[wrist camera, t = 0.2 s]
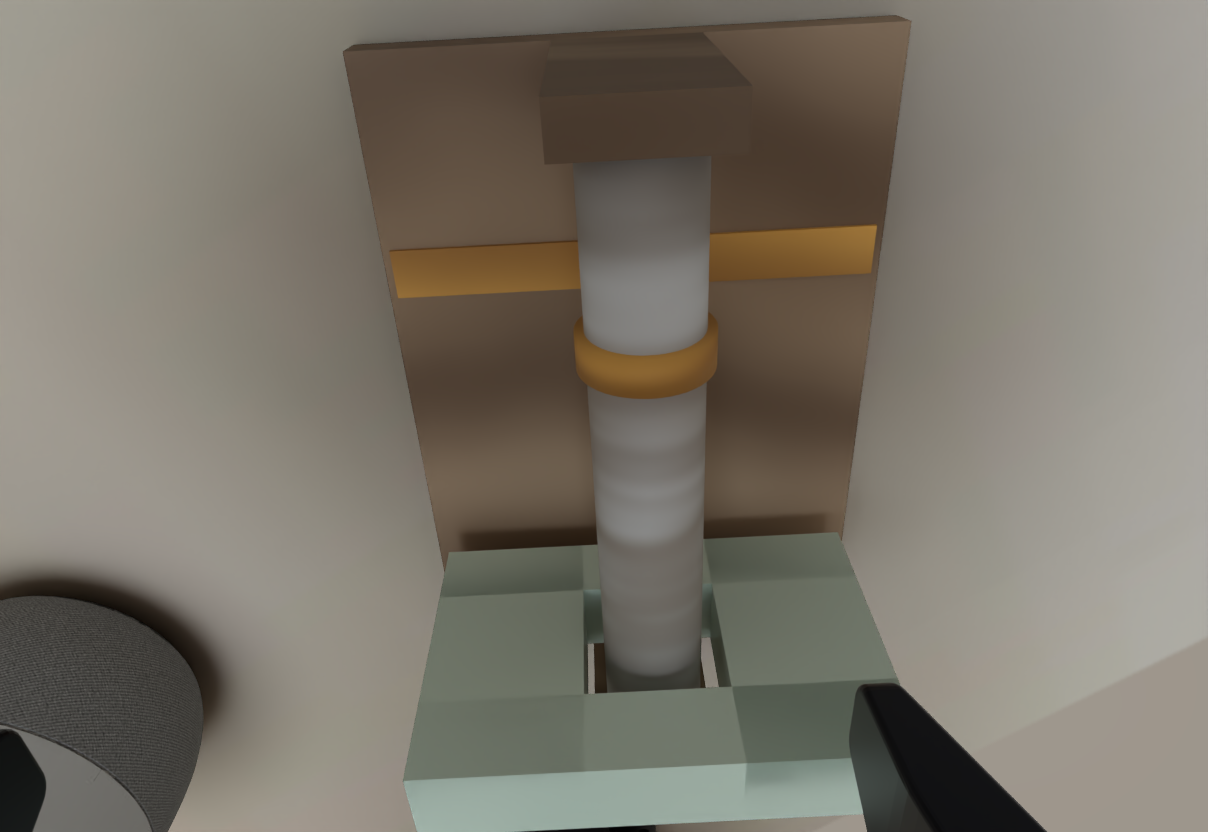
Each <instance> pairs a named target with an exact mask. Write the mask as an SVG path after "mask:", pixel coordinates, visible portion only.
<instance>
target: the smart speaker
mask: <svg viewBox="0 0 1208 832" xmlns="http://www.w3.org/2000/svg"><path fill="white" fill-rule="evenodd" d="M0 729H12V730H14V731H16V732H18V733H19V735H20V736H21V737H22V739H23V740H24V742H25V743H26V745H27V747H28V748H29V750H30V751H31V753H32V755H33V756H34V758H35V759H36V761H37V763H38V764H39V766H40V767H41V769H42V771H43V772H44V775H45V778H46V794H45V799H44V802H43V805H42V808H41V810H40V813H39V816H38V819H37V822H36V824H35V827H34V830H33V832H168V830H169V828H170V826H171V824H172V822H173V820H174V818H175V816H176V814H177V812H178V809H179V807H180V805H181V803H182V801H183V799H184V796H185V794H186V791H187V789H188V786H189V784H190V781H191V779H192V776H193V773H194V769H195V766H196V762H197V758H198V754H199V750H200V745H201V739H202V731H203V705H202V698H201V693H200V689H199V685H198V682H197V680H196V678H195V675H194V673H193V672H192V670H191V668H190V666H189V665H188V663H187V662H186V661H185V659H184V658H183V657H182V656H181V654H180V653H179V652H178V651H177V650H176V649H175V648H174V647H173V646H172V645H171V644H170V643H169V642H168V641H167V640H166V639H165V638H163V637H162V636H161V635H160V634H158V633H157V632H156V631H154V630H153V629H151V628H150V627H148V626H147V625H145V624H144V623H142V622H140V621H138V620H137V619H135V618H133V617H131V616H129V615H126V614H124V613H122V612H119V611H117V610H115V609H112V608H109V607H106V606H103V605H100V604H96V603H93V602H89V601H84V600H79V599H73V598H66V597H56V596H25V597H16V598H9V599H4V600H0Z"/></svg>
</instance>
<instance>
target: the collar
mask: <svg viewBox="0 0 1208 832" xmlns="http://www.w3.org/2000/svg"><path fill="white" fill-rule="evenodd" d="M705 637H710V638H711V644H712V650H713V655H714V661H715V667H716V672H717V678H718V684H719V687H715V688H696V689H676V690H657V691H637V692H618V693H598V694H588V643H604V633H603V618H602V603H601V588H600V572H599V557H598V545H580V546H561V547H542V548H522V549H503V550H484V551H465V552H449V555H448V560H447V564H446V569H445V574H444V579H443V584H442V589H441V594H440V599H439V604H438V609H437V614H436V619H435V624H434V629H433V634H432V639H431V644H430V649H429V654H428V659H427V664H426V669H425V674H424V679H423V683H422V688H421V693H420V698H419V703H418V708H417V713H416V718H415V723H414V728H413V733H412V738H411V743H410V748H409V753H408V758H407V763H406V768H405V773H404V778H403V783H404V787H405V790H406V794H407V797H408V801H409V805H410V808H411V812H412V815H413V819H414V822H415V826H416V830H417V832H521V831H540V830H560V829H580V828H600V827H619V826H639V825H659V824H679V823H698V822H718V821H738V820H758V819H777V818H797V817H817V816H837V815H856V814H863V810H862V805H861V801H860V796H859V792H858V787H857V782H856V778H855V773H854V769H853V764H852V760H851V755H850V747H849V732H850V726H851V719H852V713H853V707H854V700H855V694H856V691H857V689H858V687H859V686H860V685H862V684H870V683H889V682H890V683H895V684H898V685H900V683H899V681H898V678H897V676H896V673H895V671H894V669H893V666H892V664H891V661H890V659H889V656H888V654H887V651H886V649H885V647H884V644H883V642H882V639H881V637H880V634H879V632H878V629H877V627H876V625H875V622H874V620H873V617H872V615H871V612H870V610H869V607H868V605H867V603H866V600H865V598H864V595H863V593H862V590H861V588H860V585H859V583H858V581H857V578H856V576H855V573H854V571H853V568H852V566H851V563H850V561H849V559H848V556H847V554H846V551H845V549H844V546H843V544H842V541H841V539H840V537H839V534H838V532H831V533H812V534H792V535H773V536H754V537H735V538H715V539H703V578H702V625H701V638H705Z"/></svg>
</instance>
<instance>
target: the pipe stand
mask: <svg viewBox="0 0 1208 832" xmlns="http://www.w3.org/2000/svg"><path fill="white" fill-rule="evenodd" d="M910 28H911V21H910V20H907V19H904V18H902V17H899V16H877V17H859V18H840V19H822V20H804V21H785V22H767V23H748V24H730V25H711V26H693V27H674V28H656V29H637V30H619V31H600V32H582V33H563V34H545V35H526V36H508V37H489V38H471V39H452V40H434V41H415V42H397V43H378V44H360V45H353V46H351V47H349V48H348V49H346V50H345V51H343V56H344V61H345V66H346V71H347V76H348V81H349V86H350V91H351V96H352V102H353V107H354V112H355V117H356V122H357V127H358V132H359V137H360V142H361V148H362V153H363V158H364V163H365V168H366V173H367V178H368V183H369V188H370V193H371V199H372V204H373V209H374V214H375V219H376V224H377V229H378V234H379V239H380V245H381V250H382V255H383V260H384V265H385V270H386V275H387V280H388V285H389V291H390V296H391V301H392V306H393V311H394V316H395V321H396V326H397V331H398V336H399V342H400V347H401V352H402V357H403V362H404V367H405V372H406V377H407V382H408V388H409V393H410V398H411V403H412V408H413V413H414V418H415V423H416V428H417V433H418V439H419V444H420V449H421V454H422V459H423V464H424V469H425V474H426V479H427V485H428V490H429V495H430V500H431V505H432V510H433V515H434V520H435V525H436V531H437V536H438V541H439V546H440V551H441V556H442V561H443V566H444V571H445V569H446V564H447V560H448V555H449V552H465V551H484V550H503V549H522V548H542V547H561V546H580V545H598V557H599V572H600V588H601V603H602V618H603V633H604V643H594V666H595V694H598V693H618V692H637V691H657V690H676V689H696V688H706V687H705V681H704V675H703V668H702V662H701V625H702V578H703V539H715V538H735V537H754V536H773V535H792V534H812V533H831V532H838V534H839V537H840V539H841V541H842V534H843V526H844V519H845V512H846V504H847V497H848V489H849V482H850V474H851V467H852V459H853V452H854V445H855V437H856V430H857V422H858V415H859V407H860V400H861V392H862V385H863V378H864V370H865V363H866V355H867V348H868V340H869V333H870V325H871V318H872V311H873V303H874V296H875V288H876V281H877V273H878V266H879V258H880V251H881V244H882V236H883V229H884V221H885V214H886V206H887V199H888V191H889V184H890V177H891V169H892V162H893V154H894V147H895V139H896V132H897V124H898V117H899V110H900V102H901V95H902V87H903V80H904V72H905V65H906V57H907V50H908V43H909V35H910ZM705 638H707V637H705ZM588 644H591V643H588Z"/></svg>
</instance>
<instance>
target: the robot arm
mask: <svg viewBox="0 0 1208 832" xmlns="http://www.w3.org/2000/svg"><path fill="white" fill-rule="evenodd" d="M849 747H850V755H851V760H852V764H853V769H854V773H855V778H856V782H857V787H858V792H859V796H860V801H861V805H862V810H863V814H864V819H865V823H866V827H867V832H1047V831H1046V830H1045V829H1043V827H1042V826H1041V825H1040V824H1039V823H1038V822H1037V821H1036V820H1035V819H1034V818H1033V817H1032V816H1031V815H1030V814H1029V813H1028V812H1027V811H1026V810H1025V809H1024V808H1023V807H1022V806H1021V805H1020V804H1019V803H1018V802H1017V801H1016V800H1015V799H1014V798H1013V797H1012V796H1011V795H1010V794H1009V793H1007V791H1006V790H1004V788H1003V787H1002V786H1001V785H1000V784H999V783H998V782H997V781H996V780H995V779H994V778H993V777H992V776H991V775H990V774H989V773H988V772H987V771H986V770H985V769H984V768H983V767H982V766H981V765H980V764H979V763H978V762H977V761H975V759H974V758H973V757H972V756H971V755H970V754H969V753H968V752H967V751H966V750H965V749H964V748H963V747H962V746H961V745H960V744H959V743H958V742H957V741H956V740H955V739H954V738H953V737H952V736H951V735H950V734H949V733H948V732H947V731H946V730H945V729H944V728H943V727H942V726H941V725H940V724H939V723H938V722H937V721H936V720H935V719H934V718H933V717H932V716H931V715H930V714H929V713H928V712H927V711H926V710H925V709H924V708H923V707H922V706H921V705H920V704H919V703H918V702H917V701H916V700H915V699H914V698H913V697H912V696H911V695H910V694H909V693H908V692H907V691H906V690H905V689H903V688H902V687H901V686H900V685H898V684H895V683H890V682H889V683H870V684H862V685H860V686H859V687H858V689H857V691H856V694H855V700H854V707H853V713H852V719H851V726H850V732H849ZM45 794H46V778H45V775H44V772H43V771H42V769H41V767H40V766H39V764H38V763H37V761H36V759H35V758H34V756H33V755H32V753H31V751H30V750H29V748H28V747H27V745H26V743H25V742H24V740H23V739H22V737H21V736H20V735H19V733H18V732H16V731H14V730H12V729H0V832H33V830H34V827H35V824H36V822H37V819H38V816H39V813H40V810H41V808H42V805H43V802H44V799H45ZM521 832H656V826H655V825H639V826H619V827H600V828H580V829H560V830H540V831H521Z"/></svg>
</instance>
